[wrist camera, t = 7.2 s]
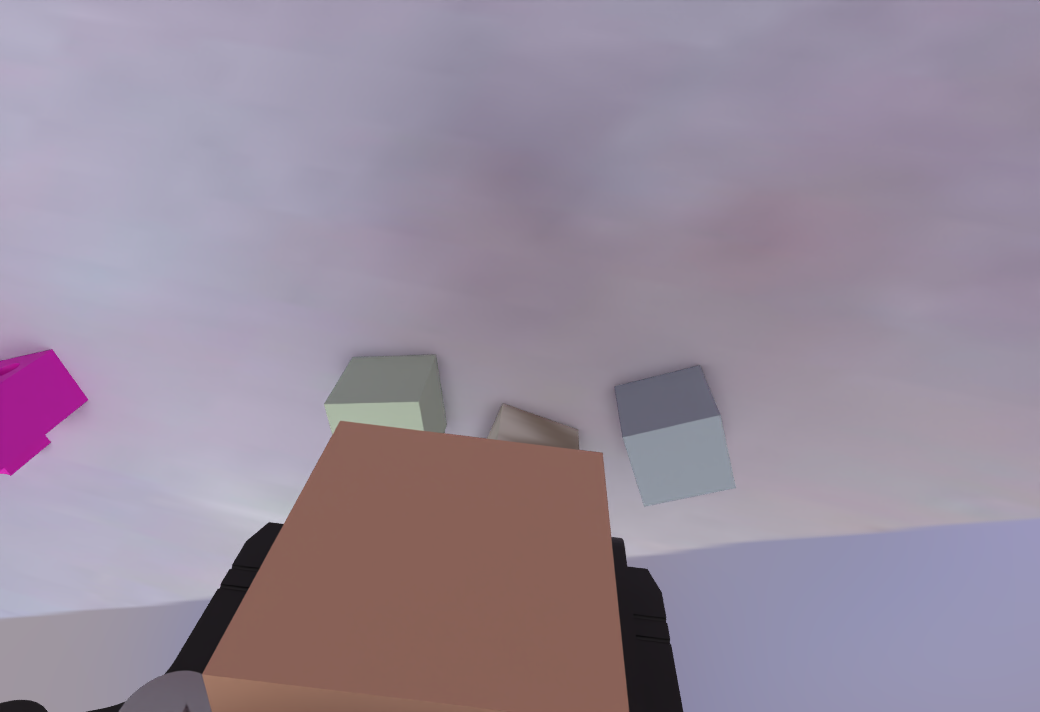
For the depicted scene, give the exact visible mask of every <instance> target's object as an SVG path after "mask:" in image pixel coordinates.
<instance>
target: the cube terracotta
mask: <svg viewBox="0 0 1040 712" xmlns="http://www.w3.org/2000/svg"><path fill="white" fill-rule="evenodd" d="M202 676H203V680H204V684H205V688H206V692H207V695H208V699H209V703H210V707H211V711H212V712H629V705H628V695H627V686H626V676H625V666H624V656H623V647H622V637H621V627H620V618H619V608H618V598H617V588H616V579H615V569H614V559H613V549H612V540H611V530H610V520H609V511H608V501H607V491H606V481H605V472H604V462H603V453H600V452H592V451H584V450H576V449H568V448H559V447H551V446H543V445H535V444H527V443H519V442H510V441H502V440H494V439H486V438H478V437H470V436H461V435H453V434H445V433H437V432H429V431H421V430H413V429H404V428H396V427H388V426H380V425H372V424H364V423H355V422H347V421H340V422H339V424H338V426H337V427H336V429H335V431H334V433H333V435H332V437H331V438H330V440H329V442H328V444H327V446H326V448H325V449H324V451H323V453H322V455H321V457H320V459H319V460H318V462H317V464H316V466H315V468H314V470H313V471H312V473H311V475H310V477H309V479H308V481H307V483H306V484H305V486H304V488H303V490H302V492H301V494H300V495H299V497H298V499H297V501H296V503H295V505H294V506H293V508H292V510H291V512H290V514H289V516H288V517H287V519H286V521H285V523H284V525H283V527H282V528H281V530H280V532H279V534H278V536H277V538H276V539H275V541H274V543H273V545H272V547H271V549H270V550H269V552H268V554H267V556H266V558H265V560H264V561H263V563H262V565H261V567H260V569H259V571H258V573H257V574H256V576H255V578H254V580H253V582H252V584H251V585H250V587H249V589H248V591H247V593H246V595H245V596H244V598H243V600H242V602H241V604H240V606H239V607H238V609H237V611H236V613H235V615H234V617H233V618H232V620H231V622H230V624H229V626H228V628H227V629H226V631H225V633H224V635H223V637H222V639H221V640H220V642H219V644H218V646H217V648H216V650H215V651H214V653H213V655H212V657H211V659H210V661H209V662H208V664H207V666H206V668H205V670H204V672H203V674H202Z"/></svg>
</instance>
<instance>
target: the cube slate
mask: <svg viewBox="0 0 1040 712" xmlns="http://www.w3.org/2000/svg"><path fill="white" fill-rule="evenodd" d="M615 393H616V399H617V405H618V411H619V418H620V424H621V430H622V437H623V440H624V444H625V447H626V450H627V453H628V456H629V459H630V463H631V466H632V469H633V472H634V475H635V479H636V482H637V485H638V488H639V491H640V495H641V498H642V501H643V504H644V507H645V506H650V505H655V504H660V503H665V502H670V501H675V500H679V499H684V498H689V497H694V496H699V495H704V494H709V493H714V492H719V491H724V490H728V489H733V488H736V486H735V482H734V477H733V472H732V467H731V463H730V458H729V453H728V449H727V444H726V439H725V434H724V430H723V425H722V420H721V415H720V413H719V410H718V408H717V406H716V403H715V401H714V398H713V396H712V394H711V391H710V389H709V386H708V384H707V381H706V379H705V377H704V374H703V372H702V369H701V367H700V365H699V366H695V367H691V368H687V369H683V370H679V371H675V372H671V373H667V374H663V375H659V376H655V377H651V378H647V379H643V380H639V381H635V382H631V383H627V384H623V385H619V386H615Z"/></svg>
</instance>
